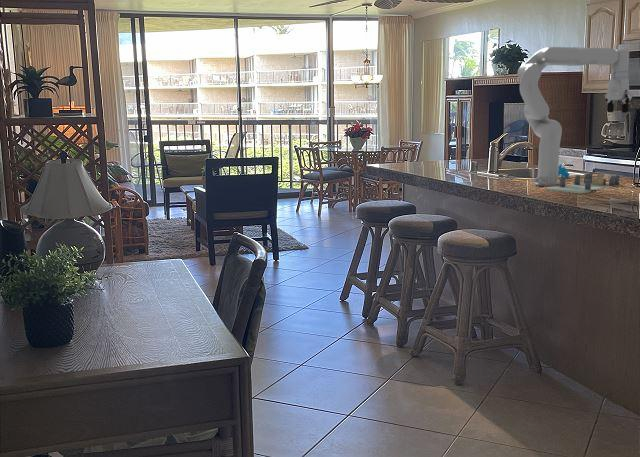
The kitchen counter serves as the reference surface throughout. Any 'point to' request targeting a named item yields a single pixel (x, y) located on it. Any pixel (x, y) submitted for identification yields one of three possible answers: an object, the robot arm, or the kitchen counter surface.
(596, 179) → the nut
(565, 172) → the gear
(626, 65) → the robot arm
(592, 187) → the spacer board
